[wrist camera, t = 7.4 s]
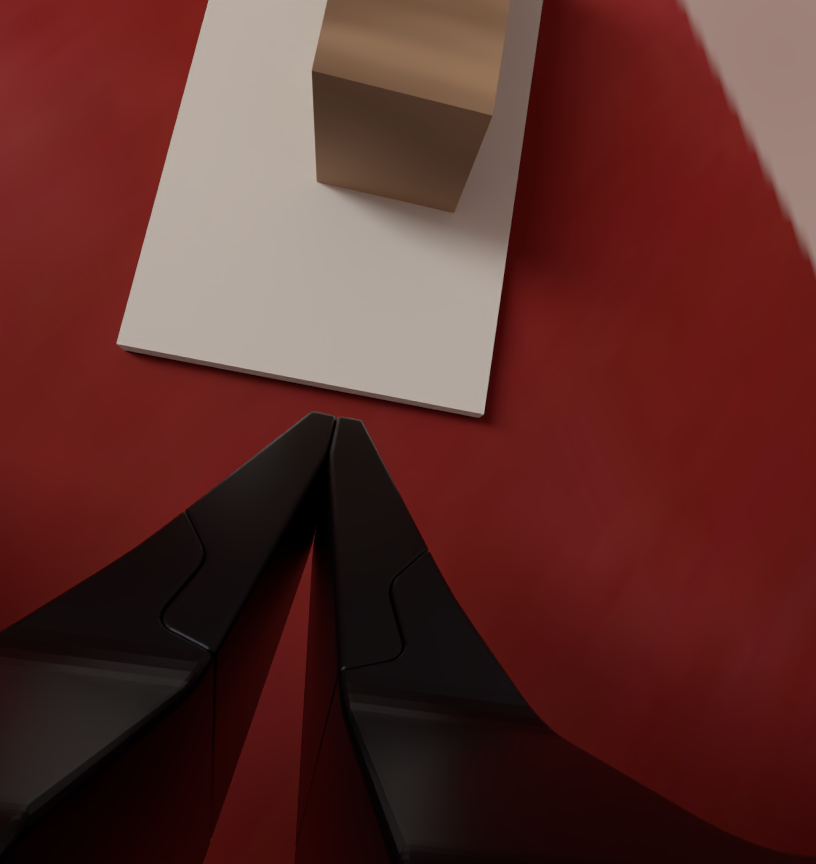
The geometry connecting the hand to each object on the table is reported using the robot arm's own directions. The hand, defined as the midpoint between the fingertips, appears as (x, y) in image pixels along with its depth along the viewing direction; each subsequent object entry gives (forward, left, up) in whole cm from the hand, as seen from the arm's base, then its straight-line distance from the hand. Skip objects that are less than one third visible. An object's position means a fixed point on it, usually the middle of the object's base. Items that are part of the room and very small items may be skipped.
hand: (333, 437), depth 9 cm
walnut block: (+9, -1, -5) cm, 10 cm away
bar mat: (+13, -1, -8) cm, 15 cm away
